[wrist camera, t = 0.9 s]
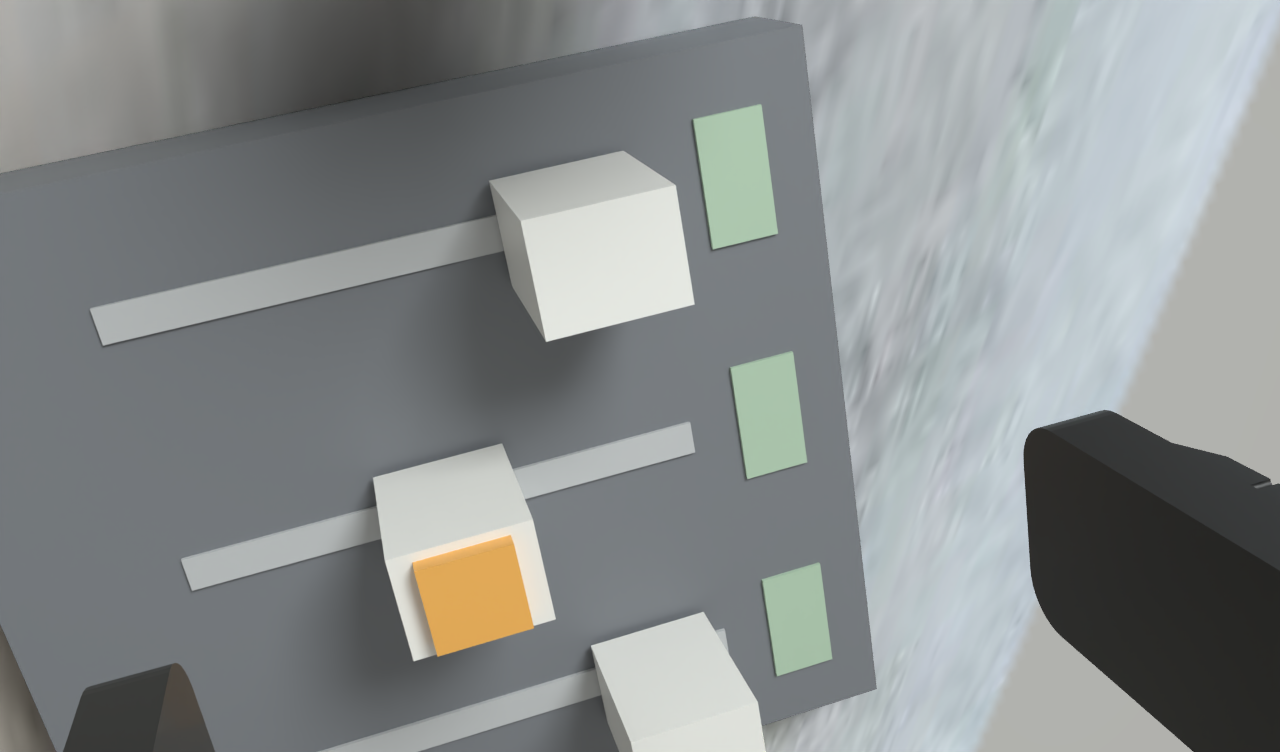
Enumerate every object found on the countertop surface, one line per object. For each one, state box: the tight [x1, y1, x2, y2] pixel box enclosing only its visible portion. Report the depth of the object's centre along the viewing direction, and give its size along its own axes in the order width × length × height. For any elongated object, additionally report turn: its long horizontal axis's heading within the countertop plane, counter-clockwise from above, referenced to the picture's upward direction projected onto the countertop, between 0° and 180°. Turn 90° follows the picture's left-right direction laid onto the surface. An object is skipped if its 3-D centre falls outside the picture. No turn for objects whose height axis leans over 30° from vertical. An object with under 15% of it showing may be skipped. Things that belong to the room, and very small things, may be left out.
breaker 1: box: [489, 151, 695, 342], centre depth 25 cm, size 2×3×4 cm
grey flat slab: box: [0, 17, 877, 752], centre depth 30 cm, size 18×20×3 cm
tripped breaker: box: [373, 443, 556, 661], centre depth 26 cm, size 2×3×4 cm
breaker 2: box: [591, 612, 766, 752], centre depth 29 cm, size 2×3×4 cm
